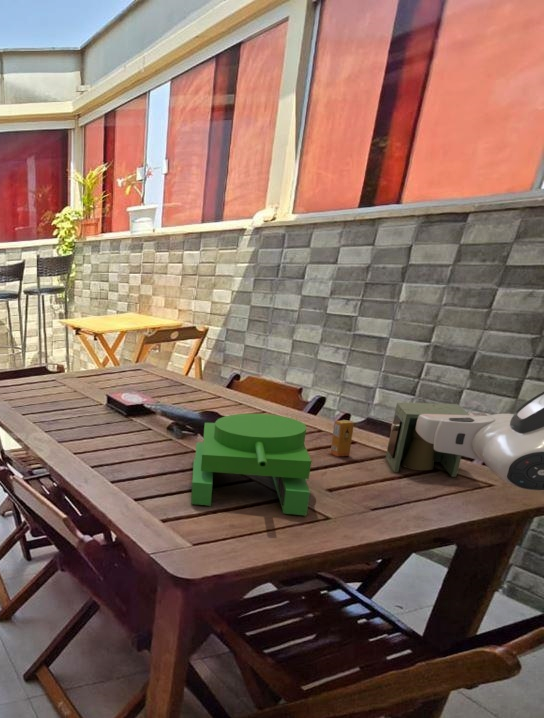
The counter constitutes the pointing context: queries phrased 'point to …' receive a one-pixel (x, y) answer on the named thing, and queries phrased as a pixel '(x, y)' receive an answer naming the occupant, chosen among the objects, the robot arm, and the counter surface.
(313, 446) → the counter surface
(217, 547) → the counter surface
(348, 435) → the supplement box
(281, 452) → the tank
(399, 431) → the oven box
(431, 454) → the cork
